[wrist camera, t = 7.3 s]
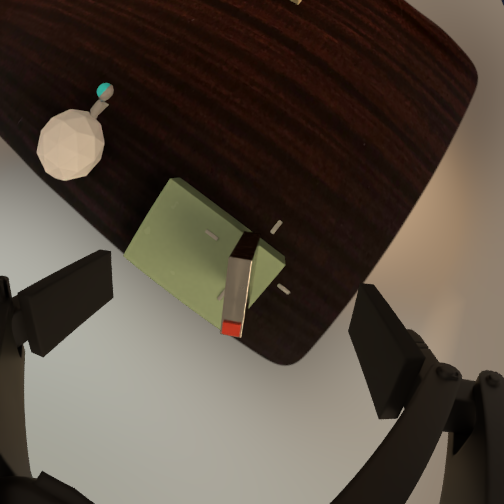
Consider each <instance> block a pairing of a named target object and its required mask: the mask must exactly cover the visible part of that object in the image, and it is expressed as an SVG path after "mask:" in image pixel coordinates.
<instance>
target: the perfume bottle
mask: <svg viewBox="0 0 504 504" xmlns="http://www.w3.org/2000/svg"><path fill="white" fill-rule="evenodd" d="M113 91H114V89H113V86H112V85H110V84H109V83H103V84H101V85H100V86H99V87H98V89H97V95H98V97H99V99H100V100H98V101H97V102H96V103H95V104H94V106H93V107H92V108H91V110H90V112H91V113H89V112H88V111H81V110H74V109H69V110H67V111H65V112H63V113H61V114H59V115H57V116H55V117H52V118H51V119H50V121H49V122H48V123H47V124H46V125H45V127H44V128H43V129H42V130H41V134H40V138H39V143H38V148H37V154H38V157H39V159H40V161H41V163H42V165H43V167H44V169H45V171H46V172H47V173H48V174H50V175H51V176H53V177H54V178H56V179H60V180H64V181H66V180H70V179H74V178H79V177H83V176H86V175H87V174H88V173H89V172H90V171H91V170H92V169H93V168H94V166H95V165H96V164H97V163H98V162H99V161H100V160H101V156H102V152H103V147H104V137H103V132H102V127H101V124H100V123H99V122H98V121H97V120H96V118H97V116H98V115H99V114H100V113H101V112H102V111H103V110H104V109H105V108H106V107H107V106H108V105H109V104H107V103H105V101H106V100H107V99H109V98H110V97H111V96H112V94H113Z"/></svg>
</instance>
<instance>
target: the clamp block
mask: <svg viewBox="0 0 504 504" xmlns="http://www.w3.org/2000/svg"><path fill="white" fill-rule="evenodd" d="M281 224H282V221H280V220H279V221H278V222H277V224H276V225H275V226H274V227H273V229H272V230H271V231H270V232H271V233H273V234H274V233H275V231H276V230H277V229H278V228H279V226H280V225H281ZM244 231H247V232H252V231H251V230H249V229H248V228H247V227H245V226H244V225H243V224H241V223H240V222H239V221H237V220H236V219H235V218H233V217H232V216H231V215H229V214H228V213H227V212H225V211H224V210H223V209H221V208H220V207H219V206H217V205H216V204H215V203H213V202H212V201H211V200H209V199H208V198H207V197H205V196H204V195H203V194H201V193H200V192H199V191H197V190H196V189H195V188H193V187H192V186H191V185H189V184H188V183H187V182H185V181H184V180H183V179H181V178H170V180H169V181H168V183H167V184H166V186H165V187H164V189H163V190H162V192H161V193H160V195H159V197H158V198H157V200H156V201H155V203H154V205H153V206H152V208H151V209H150V211H149V213H148V214H147V216H146V217H145V219H144V221H143V222H142V224H141V226H140V227H139V229H138V231H137V233H136V234H135V236H134V238H133V239H132V241H131V243H130V245H129V246H128V248H127V250H126V252H125V253H124V255H123V256H124V257H125V258H126V259H127V260H129V261H130V262H131V263H132V264H133V265H135V266H136V267H137V268H138V269H140V270H141V271H142V272H143V273H145V274H146V275H147V276H148V277H150V278H151V279H152V280H154V281H155V282H156V283H157V284H159V285H160V286H162V287H163V288H164V289H165V290H167V291H168V292H169V293H171V294H172V295H173V296H174V297H176V298H177V299H178V300H180V301H181V302H182V303H184V304H185V305H186V306H188V307H189V308H190V309H192V310H193V311H195V312H196V313H197V314H199V315H200V316H201V317H203V318H204V319H206V320H207V321H208V322H210V323H211V324H213V325H214V326H215V327H217V328H218V329H221V319H222V310H223V301H224V292H225V283H226V274H227V266H228V257H229V256H230V254H231V252H232V251H233V249H234V247H235V246H236V244H237V242H238V241H239V239H240V237H241V236H242V234H243V232H244ZM284 266H285V256H283V255H282V254H281V253H279V252H278V251H277V250H275V249H274V248H273V247H272V246H270V245H269V244H268V243H266V242H265V241H264V240H262V239H261V238H260V242H259V249H258V256H257V263H256V270H255V276H254V283H253V290H252V295H251V299H250V303H249V307H250V306H251V305H252V304H253V303H254V302H255V300H256V299H257V298H258V297H259V296H260V295H261V293H262V292H263V291H264V290H265V289H266V287H267V286H268V285H269V284H270V283H271V282H272V280H273V279H274V278H275V277H276V276H277V274H278V273H279V272H280V271H281V270H282V269H283V267H284ZM277 287H279V288H280V289H281V290H283V291H284V292H285V293H287V294H289V293H290V291H289V290H288V289H286V288H285V287H284V286H282V285H281V284H280V283H279V284H278V285H277ZM249 307H248V309H249Z"/></svg>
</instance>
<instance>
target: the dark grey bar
mask: <svg viewBox="0 0 504 504" xmlns="http://www.w3.org/2000/svg"><path fill="white" fill-rule="evenodd" d="M260 236H261V234H260V233H254V232H247V231H244V232H243V234H242V236H241V237H240V239H239V241H238V242H237V244H236V246H235V247H234V249H233V251H232V252H231V254H230V256H229V257H228V266H227V274H226V283H225V292H224V301H223V310H222V319H221V329H220V334H223V335H228V336H234V337H240V338H241V337H242V333H243V328H244V324H245V320H246V316H247V312H248V307H249V303H250V299H251V295H252V290H253V283H254V276H255V270H256V263H257V256H258V249H259V242H260Z"/></svg>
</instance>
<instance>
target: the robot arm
mask: <svg viewBox="0 0 504 504" xmlns="http://www.w3.org/2000/svg"><path fill="white" fill-rule="evenodd" d="M112 298H113V285H112V266H111V251H106V250H98V251H96V252H94V253H92V254H90V255H88V256H86V257H84V258H82V259H80V260H78V261H76V262H74V263H72V264H70V265H68V266H66V267H64V268H62V269H61V270H59V271H57V272H55V273H53V274H51V275H49V276H47V277H45V278H44V279H42V280H40V281H38V282H36V283H34V284H33V285H31V286H29V287H27V288H25V289H24V290H22V291H20V292H18V295H16V296H14V297H13V298H12V296H11V290H10V284H9V278H8V277H6V276H0V504H94V503H93V502H92V501H90V500H89V499H87V498H86V497H85V496H84V495H82V494H81V493H80V492H79V491H77V490H76V489H75V488H73V487H71V486H69V485H67V484H65V483H63V482H61V481H59V480H57V479H56V478H54V477H52V476H50V475H48V474H47V473H45V472H43V471H42V472H41V473H40V475H39V476H38V478H33V477H32V474H31V471H30V464H29V457H28V450H27V440H26V428H25V412H24V364H25V349H24V346H23V343H25V342H26V341H27V340H28V342H29V345H30V349H31V352H33V353H35V354H37V355H39V356H41V357H44V356H45V355H46V354H48V353H49V352H50V351H51V350H52V349H53V348H54V347H56V346H57V345H58V344H59V343H60V342H61V341H62V340H64V339H65V338H66V337H67V336H68V335H69V334H70V333H72V332H73V331H74V330H75V329H76V328H77V327H79V326H80V325H81V324H82V323H83V322H85V321H86V320H87V319H88V318H89V317H90V316H92V315H93V314H94V313H95V312H96V311H98V310H99V309H100V308H101V307H102V306H104V305H105V304H106V303H107V302H109V301H110V300H111V299H112ZM348 332H349V335H350V337H351V340H352V343H353V346H354V348H355V351H356V353H357V357H358V359H359V362H360V365H361V368H362V371H363V374H364V376H365V379H366V382H367V385H368V388H369V391H370V394H371V397H372V400H373V403H374V406H375V409H376V412H377V415H378V418H379V419H396V418H398V416H399V414H400V412H401V410H402V408H403V406H404V409H405V410H404V411H403V413H402V414H401V416H400V417H399V419H398V420H397V422H396V423H395V425H394V426H393V427H392V429H391V430H390V432H389V433H388V435H387V436H386V437H385V439H384V440H383V442H382V443H381V444H380V445H379V447H378V448H377V449H376V451H375V452H374V453H373V455H372V456H371V457H370V458H369V460H368V461H367V462H366V463H365V465H364V466H363V467H362V468H361V469H360V471H359V472H358V473H357V474H356V475H355V477H354V478H353V479H352V480H351V481H350V482H349V483H348V485H347V486H346V487H345V488H344V489H343V490H342V491H341V492H340V493H339V495H338V496H337V497H336V498H335V499H334V500H333V501H332V502H331V503H330V504H405V503H406V501H407V500H408V498H409V496H410V495H411V493H412V491H413V489H414V488H415V486H416V484H417V482H418V481H419V479H420V477H421V475H422V473H423V471H424V469H425V468H426V466H427V463H428V462H429V460H430V457H431V456H432V453H433V451H434V449H435V447H436V445H437V443H438V441H439V438H440V436H441V434H442V431H445V432H448V446H447V456H446V465H445V474H444V480H443V487H442V493H441V498H440V504H504V378H503V377H502V375H500V374H498V373H497V372H493V371H488V370H486V371H482V372H481V373H480V374H479V376H478V378H477V380H476V381H470V380H464V379H462V375H461V373H460V372H459V371H458V370H457V369H456V368H455V367H453V366H451V365H449V364H446V363H439V362H438V360H437V359H436V357H435V356H434V355H433V353H432V352H431V350H430V349H428V346H427V345H426V344H425V342H424V341H423V339H422V338H421V337H420V335H418V334H417V333H416V332H414V331H413V330H410V329H406V328H405V327H404V325H403V324H402V322H401V321H400V320H399V318H398V317H397V315H396V314H395V313H394V311H393V310H392V308H391V307H390V306H389V304H388V303H387V302H386V300H385V299H384V298H383V296H382V295H381V294H380V292H379V291H378V290H377V288H376V287H375V286H374V285H373V284H364V283H360V285H359V289H358V293H357V298H356V302H355V306H354V311H353V314H352V319H351V322H350V326H349V330H348Z"/></svg>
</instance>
